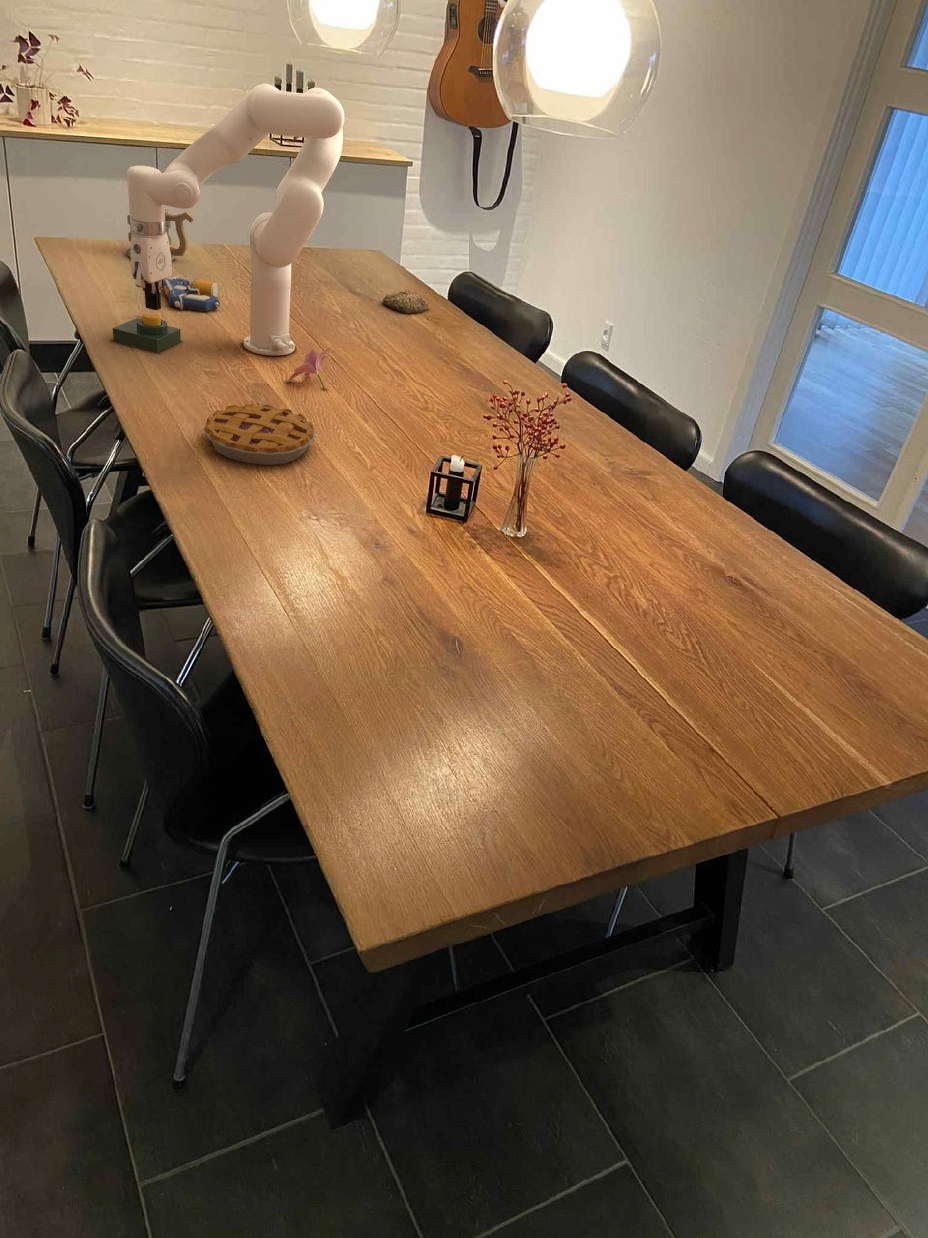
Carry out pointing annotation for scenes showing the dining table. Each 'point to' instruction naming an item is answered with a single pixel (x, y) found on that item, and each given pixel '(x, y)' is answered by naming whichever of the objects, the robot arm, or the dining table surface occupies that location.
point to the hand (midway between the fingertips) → (153, 308)
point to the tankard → (179, 229)
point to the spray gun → (191, 293)
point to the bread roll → (406, 302)
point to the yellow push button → (151, 319)
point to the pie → (259, 434)
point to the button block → (147, 335)
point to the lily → (310, 364)
